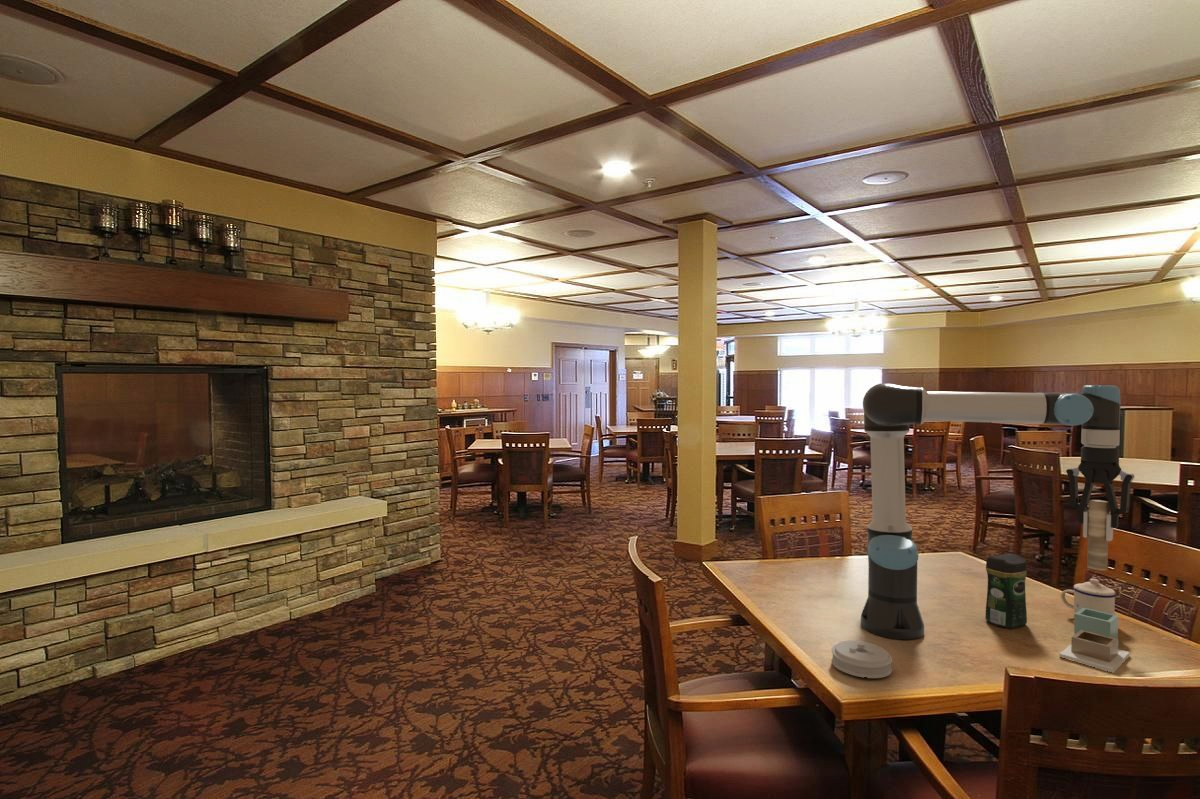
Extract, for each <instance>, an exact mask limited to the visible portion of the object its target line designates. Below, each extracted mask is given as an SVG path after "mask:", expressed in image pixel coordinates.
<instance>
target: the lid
mask: <svg viewBox="0 0 1200 799" xmlns="http://www.w3.org/2000/svg"><path fill="white" fill-rule="evenodd" d="M831 654H832V657H831V664H832V665H833V666H834V667H835V668H836V669H837V670H839V671H841V672H843V673H846V674H848V675H851V676H855V677H860V678H864V677H867V679H880V678H881V679H882V678H885V677H888V676H890V675H891V674H892V672H893V667H892V665H891V664H892V662H893V657H892V655H891V654H890V653H889V652H888V651H887V650H886V649H884V648H883V647H881V646H880V645H877V644H874V643H871V642H868V641H863V640H853V639H852V640H851V639H850V640H849V639H848V640H843V641H839V642H838V643H836V644H834V645H832V647H831Z"/></svg>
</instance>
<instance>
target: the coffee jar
mask: <svg viewBox="0 0 1200 799" xmlns="http://www.w3.org/2000/svg"><path fill="white" fill-rule="evenodd" d="M985 562H986V564H985V570H986V574H987V591H986V592H987V593H986V604H985V620H986V621H987V622H989V624H991V625H992V626H996V627H1001V628H1007V629H1015V628H1020V627H1023V626H1026V625H1027V623H1028V617H1027V615H1028V614H1027V601H1026V600H1027V597H1026V579H1027V578H1026V577H1027V574H1028V567H1027V566H1028V565H1027V561H1026V559H1025V558H1024V556H1021V555H1017V554H1013V553H1009V552H1008V553H1006V554H1000V555H989V556H988V557H986V559H985Z"/></svg>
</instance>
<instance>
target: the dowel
mask: <svg viewBox="0 0 1200 799" xmlns="http://www.w3.org/2000/svg"><path fill="white" fill-rule="evenodd" d="M1087 508H1088V509H1087V511H1088V537H1087V555H1086V556H1087V559H1086V560H1087V561H1086V562H1087V564H1086V565H1087V566H1086V567H1087V569H1091V570H1095V571H1102V572H1103V571H1108V563H1109V562H1108V560H1109V556H1108V555H1109V541H1106V523H1107V514H1110V508H1109V504H1108V500H1107V501H1106V500H1101V499H1089V503H1088V507H1087Z"/></svg>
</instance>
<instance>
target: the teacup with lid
mask: <svg viewBox="0 0 1200 799" xmlns="http://www.w3.org/2000/svg"><path fill="white" fill-rule="evenodd" d="M1066 593H1069V594H1070V593H1071V594H1073V605H1072V604H1071V603H1069V602H1068V600H1067V599H1066ZM1116 596H1117V593H1116V591H1115V590H1113V589H1112V588H1110V587H1107V586H1105V585H1104V584H1102V583H1100V580H1099V579H1097V578H1090V579H1089V581H1085V582H1083V583H1076V584H1074V585H1073V587H1072V589H1064V590H1063V591H1061V593H1060V598H1061V601H1062V603H1063V604H1064V606H1066V607H1067V608H1069V609H1073V619H1074V618H1075V613H1077V612H1078V611H1079V610H1081V609H1082V608H1088V609H1092V610H1096V611H1101V612H1105V613H1109V614H1114V615H1115V607H1116V606H1115V605H1116V604H1115V603H1116V601H1115V600H1116Z"/></svg>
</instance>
